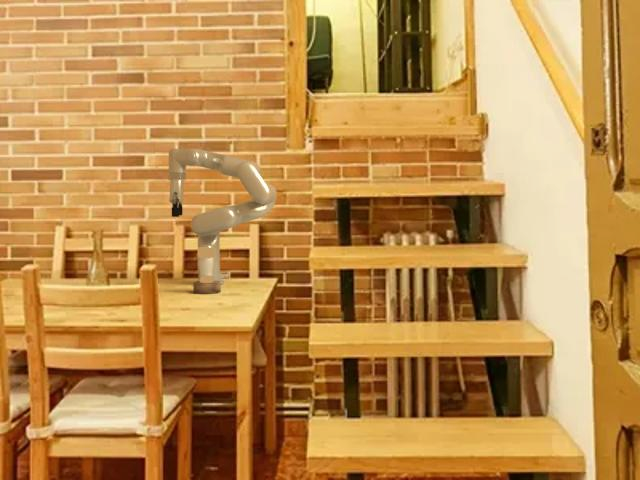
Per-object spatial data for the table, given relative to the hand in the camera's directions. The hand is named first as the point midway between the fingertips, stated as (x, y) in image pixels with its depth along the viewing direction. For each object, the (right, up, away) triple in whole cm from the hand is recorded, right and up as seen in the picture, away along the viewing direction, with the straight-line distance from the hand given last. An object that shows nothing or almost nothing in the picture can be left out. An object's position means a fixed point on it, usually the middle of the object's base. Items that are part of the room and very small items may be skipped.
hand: (177, 216), depth 313 cm
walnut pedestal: (+16, -32, -20) cm, 41 cm away
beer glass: (+16, -28, -21) cm, 39 cm away
